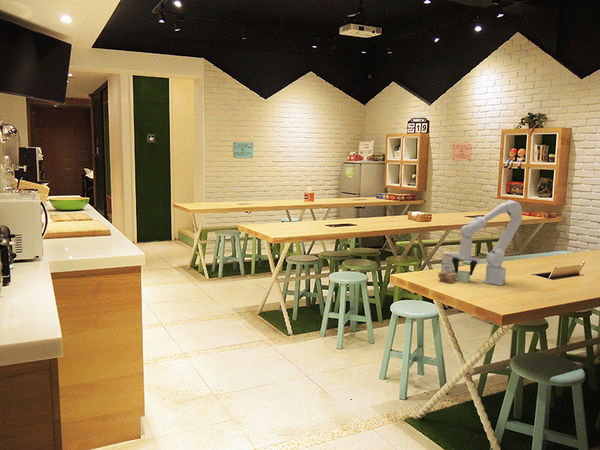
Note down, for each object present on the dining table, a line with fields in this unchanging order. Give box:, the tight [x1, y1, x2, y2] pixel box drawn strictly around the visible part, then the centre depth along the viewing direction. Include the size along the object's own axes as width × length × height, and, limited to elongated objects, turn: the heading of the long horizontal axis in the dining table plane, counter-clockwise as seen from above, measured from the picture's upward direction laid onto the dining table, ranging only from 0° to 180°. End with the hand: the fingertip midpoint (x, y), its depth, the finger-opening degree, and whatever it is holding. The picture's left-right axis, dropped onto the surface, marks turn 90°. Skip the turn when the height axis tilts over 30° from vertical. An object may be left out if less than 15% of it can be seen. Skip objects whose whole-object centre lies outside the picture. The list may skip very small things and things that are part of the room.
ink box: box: [440, 251, 460, 273], centre depth 284 cm, size 9×5×12 cm, turn 84°
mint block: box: [456, 269, 471, 284], centre depth 268 cm, size 5×5×5 cm
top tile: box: [437, 271, 458, 280], centre depth 266 cm, size 7×7×2 cm
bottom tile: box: [438, 278, 457, 285], centre depth 266 cm, size 7×7×2 cm
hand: (463, 273), depth 268 cm, fingers open, 7 cm apart
